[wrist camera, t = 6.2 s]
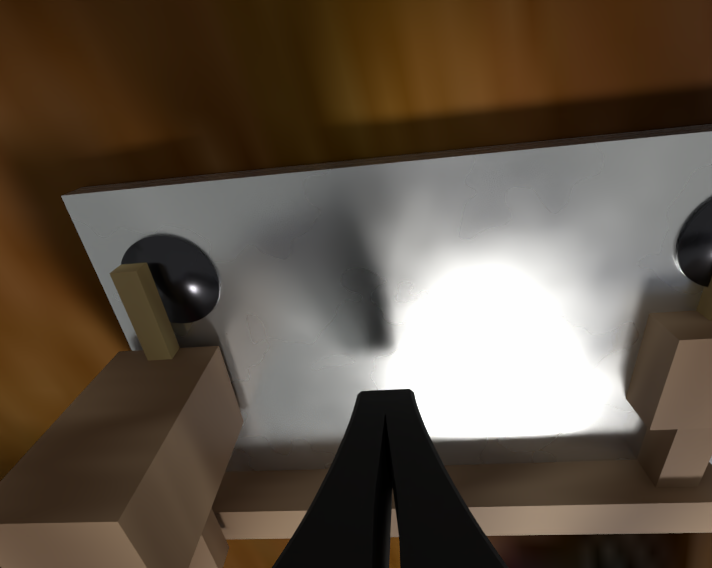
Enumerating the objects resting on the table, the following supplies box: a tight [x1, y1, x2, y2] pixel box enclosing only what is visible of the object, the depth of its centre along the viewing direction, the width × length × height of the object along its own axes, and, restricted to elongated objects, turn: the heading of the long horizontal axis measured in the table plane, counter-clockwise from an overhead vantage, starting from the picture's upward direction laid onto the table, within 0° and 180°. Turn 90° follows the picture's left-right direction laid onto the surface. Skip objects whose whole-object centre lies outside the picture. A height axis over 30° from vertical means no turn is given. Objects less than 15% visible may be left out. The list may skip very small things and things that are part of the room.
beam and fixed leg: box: [211, 278, 712, 539], centre depth 11 cm, size 17×10×2 cm, turn 96°
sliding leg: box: [0, 263, 244, 568], centre depth 10 cm, size 3×10×5 cm, turn 6°
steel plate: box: [61, 124, 712, 472], centre depth 12 cm, size 18×12×1 cm, turn 96°
